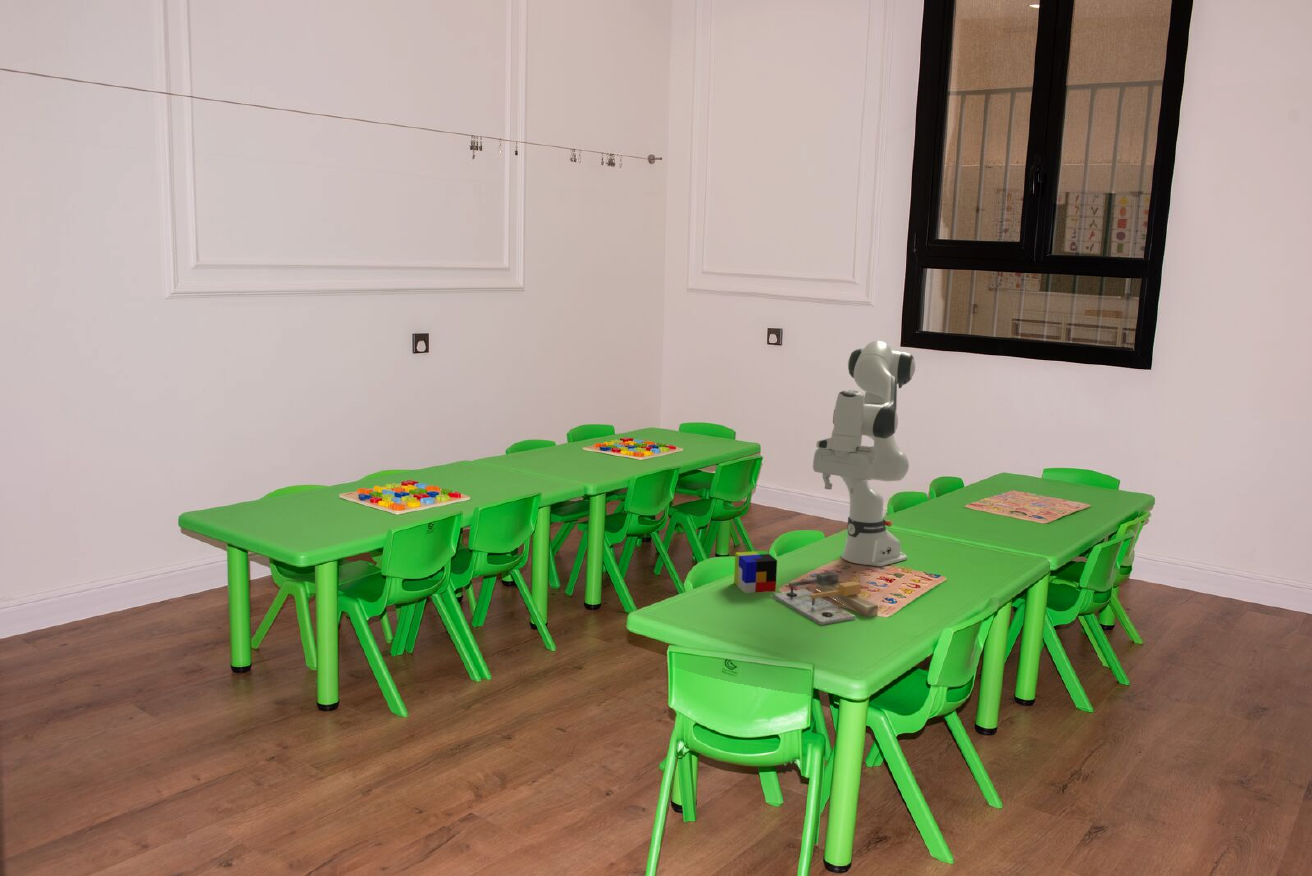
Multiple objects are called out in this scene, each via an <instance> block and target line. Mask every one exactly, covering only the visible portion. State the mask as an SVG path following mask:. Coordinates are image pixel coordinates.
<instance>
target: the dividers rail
mask: <svg viewBox="0 0 1312 876" xmlns="http://www.w3.org/2000/svg"><path fill="white" fill-rule="evenodd" d="M839 575H840V574H839V573H837V572H835V571H834V570H833V571H831V570H830V571H825V572H819V573H816V578H812V579H805V580H799V581H793V582H788V587H790V591H791V593H793V591H794V588H795V587H799V586H800V587H801V586H806V585H812V584H815V590H816V589H818V590H820V591H821V592H828V591H834V590H838V587H839ZM830 597H832V598H834V599H836V600H837V601H839V602H841V603H842V604H844V605H845V607H846V606H847V608H848V609H849V610H852V611H854V612H856V613H858V614H860V615H861V616H863V617H865V618H870V617H875V615H876V616H878V611H879V609H878V608H879V605H878V604H876V603H874V602H872V601H870V600H869V599H866V598H864V597H862V596H860V595H859V594H856V595H850V596H842V595H841V594H838V595H832V596H830ZM837 601H836V602H837ZM839 602H838V603H839ZM841 603H840V604H841ZM842 604H841V605H842ZM844 605H843V606H844Z"/></svg>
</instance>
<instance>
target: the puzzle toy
mask: <svg viewBox="0 0 1312 876" xmlns="http://www.w3.org/2000/svg"><path fill="white" fill-rule="evenodd" d="M734 555H735V556H734V574H733V576H734V579H733V583H734V584H735V585H736V586H737V587H738V588H739V589H740V590H741V591H742V592H743V593H744V594H756V593H771V592H777V591H776V589H777V575H778V573H777V571H778V570H777V568H778V559H776V558H775V557H773V556H772V555H771V554H770V553H768V551H766V550H759V551H758V550H757V551H741V552H740V551H738V552H734Z"/></svg>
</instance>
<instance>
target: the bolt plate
mask: <svg viewBox="0 0 1312 876" xmlns="http://www.w3.org/2000/svg"><path fill="white" fill-rule="evenodd" d="M810 594H815V593H813V592H812V591H810V590H808V589H806V588H802V589H796V590H795V589H793V593H791V590H788V591H783V592H776V593H772V598H773V599H775V600H777V601H778V602H780V603H782V604H783V605H785V606H787V607H789V608H791V609H792V610H794V611H795V612H797V613H799V614H801V615H802V616H804V617H806V618H808V619H809V620H811V621H813V622H814V623H816V624H818V625H820V626H824V625H829V624H830V625H831V624H836V623H843V622H847V621H852V620H853V621H854V620H856V615H855V614H853V613H851V612H849V611H847V610H845V609H843V608H842V607H840V606H838V605H836V604H835V603H833V602H830V601H828V600H827V599H825V598H824V597H819V598H815V605H812V599H811V598H810Z"/></svg>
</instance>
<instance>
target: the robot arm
mask: <svg viewBox="0 0 1312 876" xmlns="http://www.w3.org/2000/svg"><path fill="white" fill-rule="evenodd" d="M847 361H848V362H847V369H848V374H849V375H850V377H852V378H853V379H854V382H855V383H856V385H857V387H858V388H860V389H861V390H862V391H864V392H865V394H864V392H863V393H862V392H860V391H858V390H842V391H839V392H838V394H837V397H836V401H835V407H834V409H833V413H832V416H833V417H832V424H833V429H832V431H831V437H829V438H825V439H820V440H818V441H816V448H817V449H816V450H815V452H814V456H813V461H812V469H813V471H814V472H815V473H820V474H822V479H823V482H824V489H825V490H830V491H831V490H832V489H833V483H831V480H830V478H831V475H833V476H839V477H840V478H841V479H842V481H843V482H844V483H845V484H844V485H845V486H846V488H847V491H848V496H849V516H847V525H846V526H847V527H846V528H847V535H846V541H845V546H844V549H843V552H842V555H841V558H842V559H843V560H845V561H847V562H850V563H854V564H857V565H864V566H865V565H867V566H873V567H874V566H875V567H883V566H887V565H892V564H895V563H898V562H901V561H902V562H903V561H907V559H908V556H907V555H906V554H905V553H904V552H902V551H901V550H902V549H901V543H900V540H899V539H898V538H897V537H896V536H895V535H893V534H892V533H890V532H889V531H888V530H887V528H886V526H887V527H888V528H890V527H892V526H893V522H892V520H888V519H886V520H885V519H884V517H883V514H884V501H885V500H884V497H883V495H882V494H881V492H879V491H878V490H876V489H875V488H874V487H872V486H871V484H870V483H869V481H872V480H874V481H879V482H899V481H902V480H903V479H904V478H905V477H906V475H907V474H908V472H909V468H910V463H909V459H908V457H907V455H906V454H905V452H903V450H901V449H900V447H899V446H898V444H897V442H896V440H895V437H894V436H895V433H896V430H897V429H898V424H899V423H898V422H899V421H898V420H899V417H898V412H897V405H898V389H901V388H902V387H903V386H904V385H906V384H908V383H909V382H910V381H911V380H912V379H913V377H914V374H915V371H916V362H915V358H914V356H913V354H912V353H909V352H905V351H898V350H897V351H896V350H893V349H891V347H890V346H889V344H888V343H886V342H885V341H881V340H875V341H871V342H869V343H868V344H867V345H866V346H865V347H864V348H858V349H855V350H853V351H852V352H851V353H850V356H849V357H848V360H847ZM897 388H898V389H897ZM863 436H867V438H870V439H871V440H872V441H873V446H868V445H862V440H863Z"/></svg>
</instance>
